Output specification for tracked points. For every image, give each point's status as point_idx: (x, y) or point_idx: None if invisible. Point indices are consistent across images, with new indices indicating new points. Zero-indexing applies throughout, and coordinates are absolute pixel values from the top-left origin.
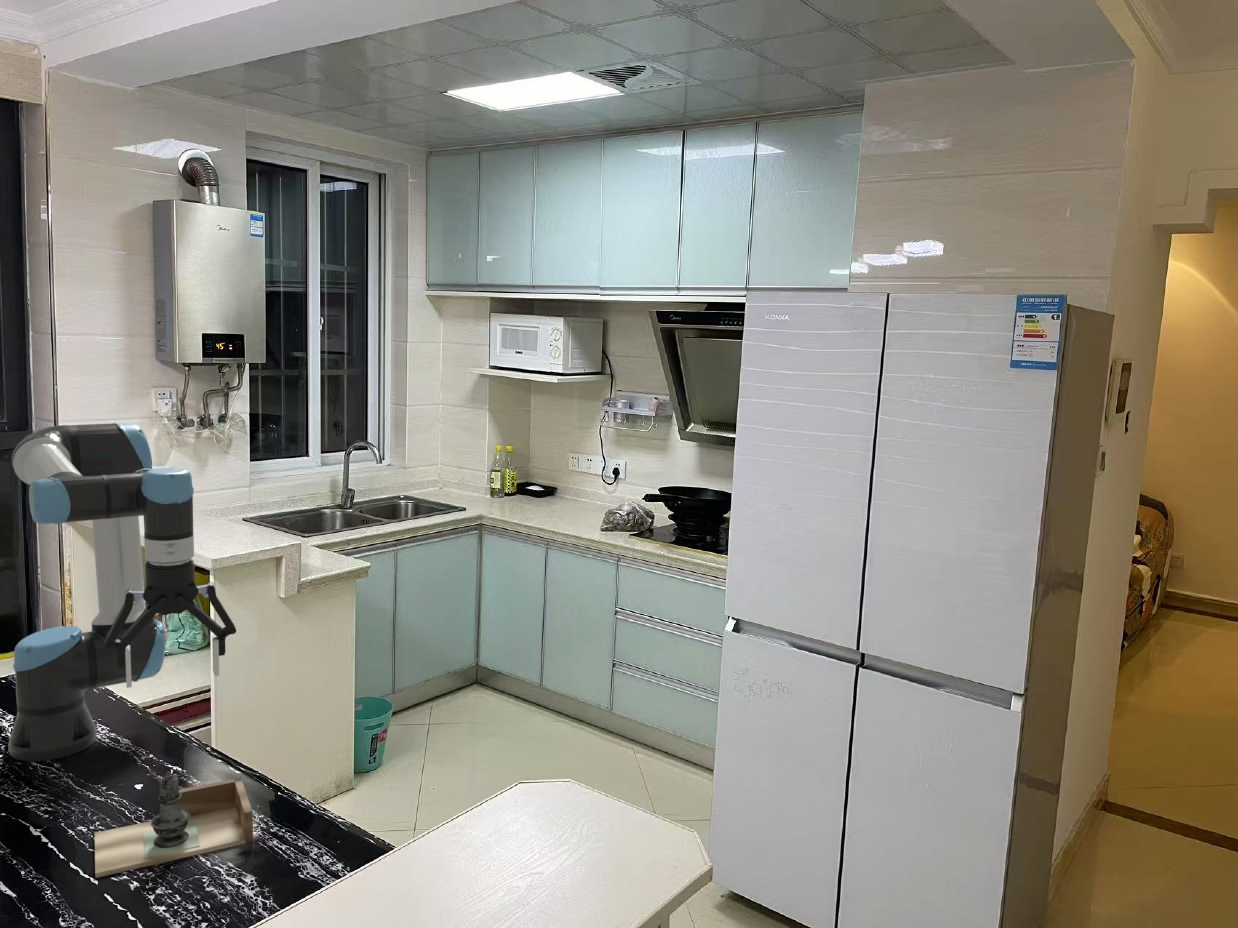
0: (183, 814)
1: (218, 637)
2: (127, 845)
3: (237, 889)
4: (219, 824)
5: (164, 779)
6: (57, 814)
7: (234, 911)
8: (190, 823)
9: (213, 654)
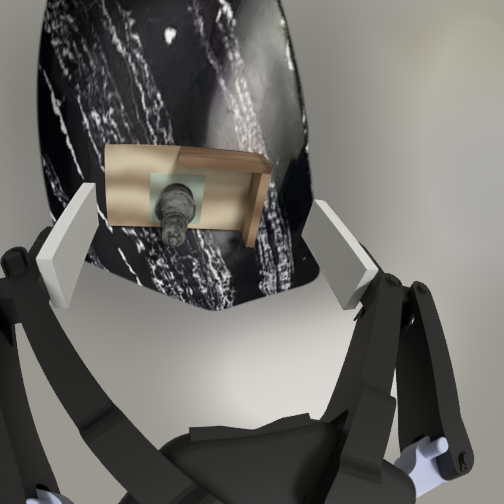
0: (188, 215)
1: (359, 313)
2: (134, 188)
3: (214, 284)
4: (227, 191)
5: (167, 243)
6: (75, 72)
7: (206, 303)
8: (200, 175)
9: (329, 256)
